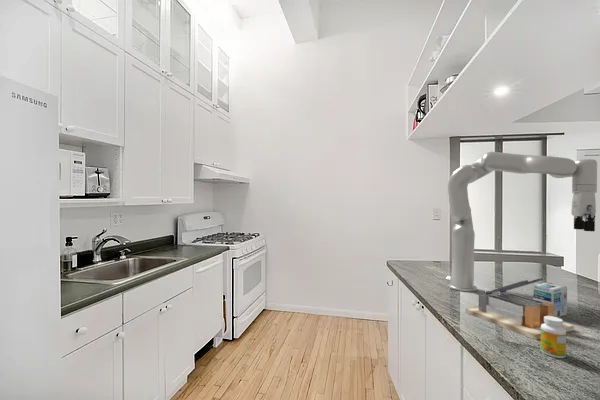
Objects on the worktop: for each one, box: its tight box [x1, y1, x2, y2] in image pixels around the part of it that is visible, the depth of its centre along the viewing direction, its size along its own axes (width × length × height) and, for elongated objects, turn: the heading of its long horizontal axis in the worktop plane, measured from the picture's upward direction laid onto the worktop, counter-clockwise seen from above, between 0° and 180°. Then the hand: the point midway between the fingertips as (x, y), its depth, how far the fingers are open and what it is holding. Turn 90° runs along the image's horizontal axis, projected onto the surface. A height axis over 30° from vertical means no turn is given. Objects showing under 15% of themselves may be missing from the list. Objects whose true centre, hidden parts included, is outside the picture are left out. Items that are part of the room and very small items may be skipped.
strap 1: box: [483, 280, 529, 295], centre depth 106 cm, size 16×3×1 cm, turn 23°
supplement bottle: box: [539, 316, 567, 359], centre depth 83 cm, size 5×5×10 cm
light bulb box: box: [533, 281, 568, 318], centre depth 114 cm, size 11×7×11 cm, turn 117°
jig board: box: [465, 305, 575, 340], centre depth 106 cm, size 24×20×2 cm
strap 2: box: [498, 278, 544, 293], centre depth 109 cm, size 16×3×1 cm, turn 23°
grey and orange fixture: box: [478, 291, 555, 328], centre depth 106 cm, size 18×14×6 cm
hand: (583, 230), depth 125 cm, fingers open, 9 cm apart
